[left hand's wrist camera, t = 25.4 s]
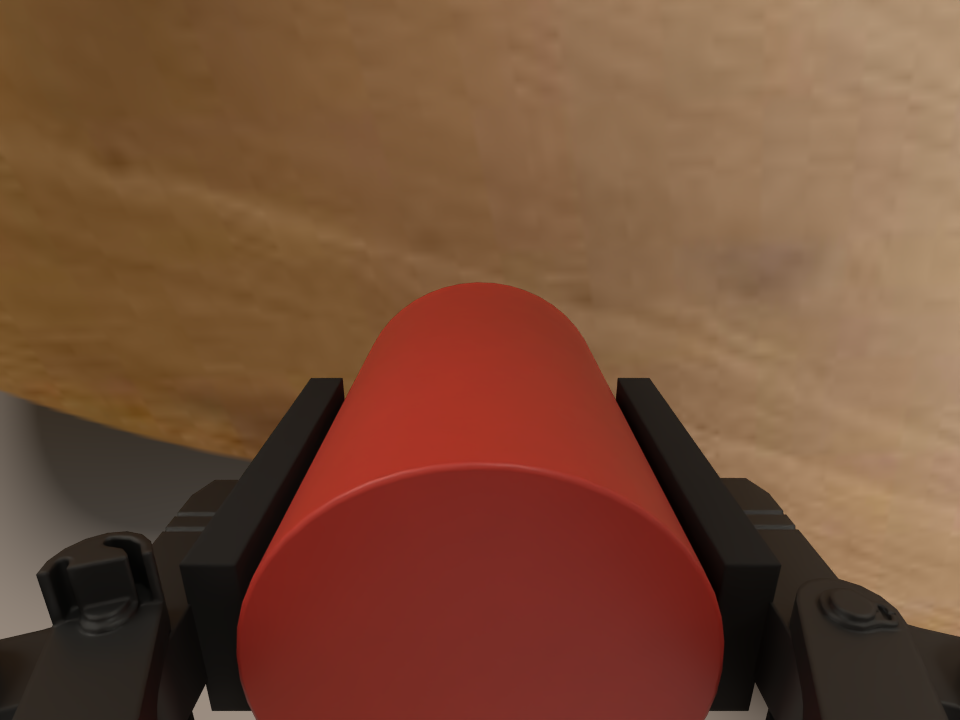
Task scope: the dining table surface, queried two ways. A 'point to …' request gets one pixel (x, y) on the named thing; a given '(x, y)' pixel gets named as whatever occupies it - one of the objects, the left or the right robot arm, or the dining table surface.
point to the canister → (480, 541)
